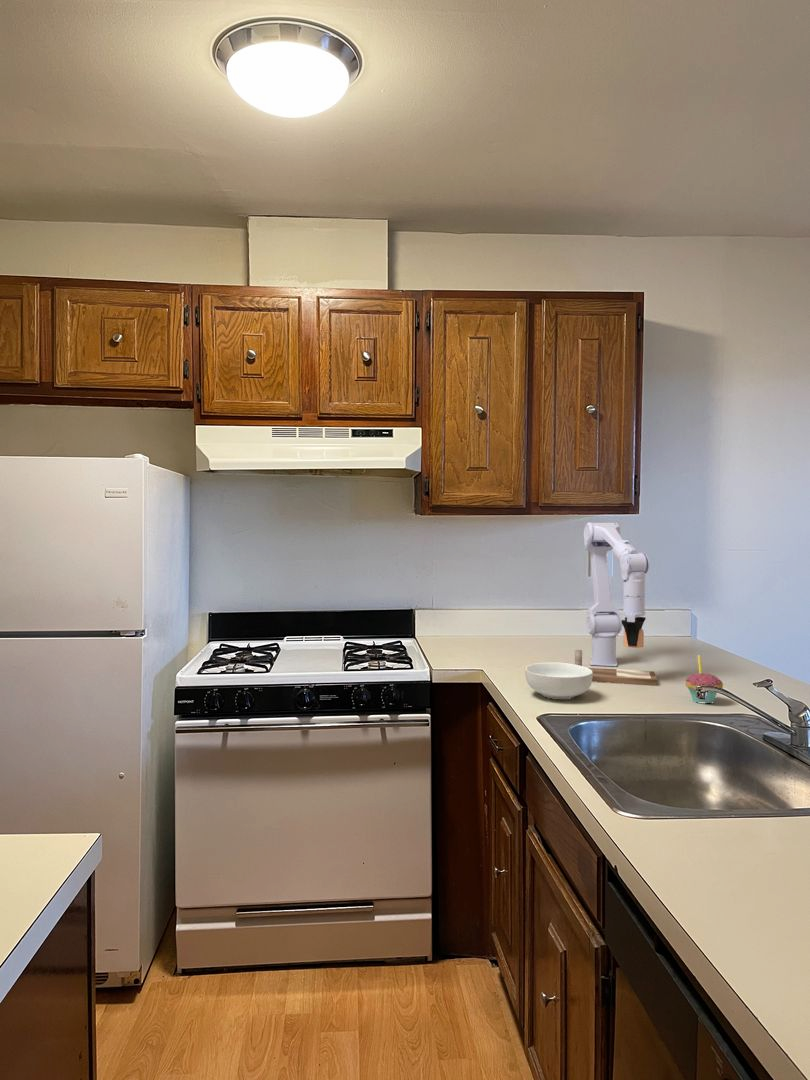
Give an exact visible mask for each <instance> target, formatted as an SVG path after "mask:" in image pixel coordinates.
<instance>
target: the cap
mask: <svg viewBox="0 0 810 1080" xmlns="http://www.w3.org/2000/svg"><path fill="white" fill-rule="evenodd" d="M644 635H645V632H644V629H640V631H639V635H638V642H637V645H636V646H628V642H627V637H626V632H625V629H624V628H623V647H627V648H636V649H640V648H644V643H645V641H644V638H645V636H644Z"/></svg>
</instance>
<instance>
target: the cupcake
mask: <svg viewBox="0 0 810 1080" xmlns="http://www.w3.org/2000/svg"><path fill="white" fill-rule="evenodd" d="M697 653H698V654H697V663H698V672H696V673H693V674H690V675H689V676H687V678H686V679H685V686H686V688H687V689H688V690H689V693H690V696H691V699H692V701H693V702H694V701H696V702H705V703H712V702H713V703H714V702H715V699H716V697H717V694H718V692H714V691H708V692H707V696H706V699H705V700H701V699H697V697H696V687H697V686H699V685H700V686H714V687H718V688H722V689H723V688H724V683H723V681H722V680H721V679H719V677H717V676H715V675H714V674H711V673H704V672H703V669H702V668H703V667H702V658H701V656H702V655H700V653H699V652H697ZM696 702H695V703H696ZM713 703H712V704H713Z"/></svg>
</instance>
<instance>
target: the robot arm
mask: <svg viewBox="0 0 810 1080" xmlns="http://www.w3.org/2000/svg"><path fill="white" fill-rule="evenodd" d="M583 540H584V543H583V544H584V547H585V548H584V549H585V550H586V551H587V552H589V557H590V565H591V566H590V568H591V577H592V578H591V579H592V587H593V598H594V604H593V605H591V606H590V607H589V608H588V610H587V611H586V619H585V626H586V627H585V628H586V631H587V632H588V634H589V635H590V636H591V657H590V660H589V661H590V662H589V663H590V664H589V665H590V666H604V667H617V666H618V659H616V657H617V656H616V655H617V648H616V647H617V637H618V636H619V634H620V633H621V631H623V630H624V629H625V632H626V637H627V642H628V646H636V645H637V642H638V635H639V631H640V629H642V628H643V626H644V622H645V621H646V617H644V616H645V615H646V611H645V609H646V608H645V606H646V605H645V604H646V603H645V602H646V600H645V597H646V596H645V595H646V593H645V592H646V574H647V573H648V571H649V569H650V561H649V556H648V555H647V553H646V552H638V550H637V549H636V548H635V547H634V546H633V544H632V543H631V542H630V541H629V539H623V537H622V535H621V528H620V525H619V524H618V522H617V521H616V522H615V521H614V522H591V521H589V522H587V523H586V524H585V525H584V529H583ZM609 551H612V553H613V555H614V557H615V558H616V559H617V561H618V562H619V568H620V572H621V579H622V580H623V590H622V592H623V593H622V594H623V596H622V597H623V599H622V600H623V601H622V603H623V607H622V608H623V609H622V610H620V609H619V608H618V607H617V606H616V605H614V604H613V603H612V600H611V590H610V580H609V570H608V569H609V568H608V560H607V559H608V558H607V553H608V552H609ZM621 615H623V616H625V617H624V619H622V617H621ZM642 630H643V629H642Z"/></svg>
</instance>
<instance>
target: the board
mask: <svg viewBox="0 0 810 1080" xmlns="http://www.w3.org/2000/svg"><path fill="white" fill-rule="evenodd" d="M574 664H575V665H579V666H583V650H581V649H575V650H574ZM588 668H589V669H591V670H592V672H593V677H592V681H597V682H596V683H606V682H610V683H609V684H622V683H624V685H640V686H642V685H643V686H656V687H657V686H658V678H657V676H656V672H655V670H654V671H653V670H652V671H651V670H641V669H640V670H639V669H638V670H637V669H621V668H615V669H614V668H599V667H598V668H597V667H596V668H595V667H588Z"/></svg>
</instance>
